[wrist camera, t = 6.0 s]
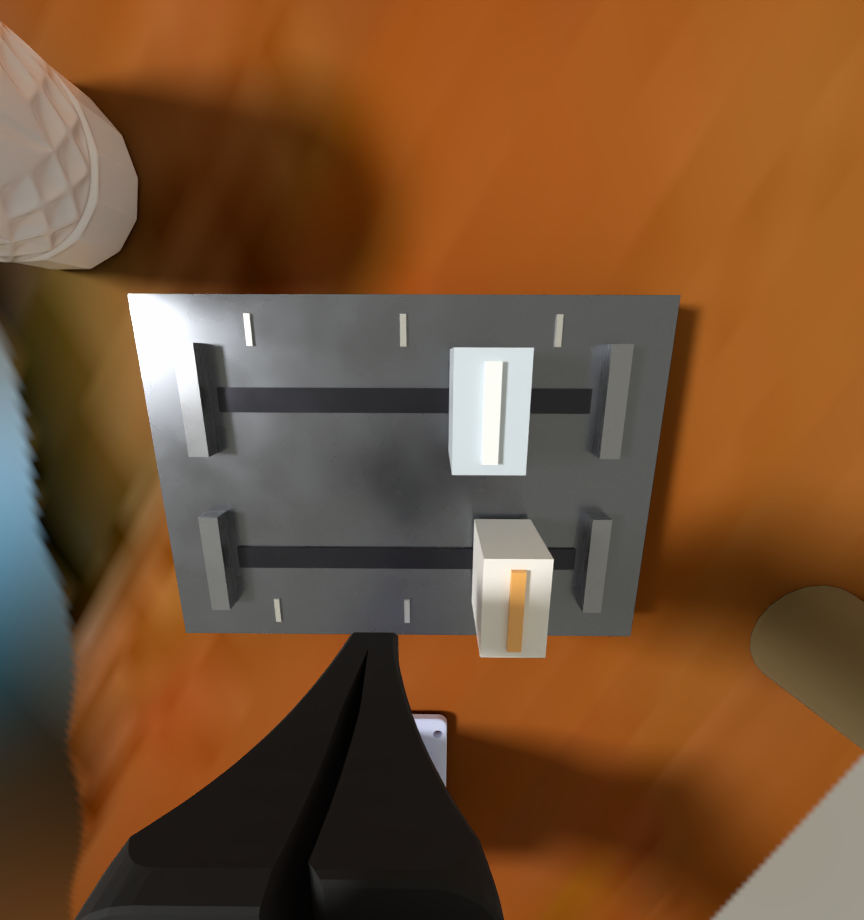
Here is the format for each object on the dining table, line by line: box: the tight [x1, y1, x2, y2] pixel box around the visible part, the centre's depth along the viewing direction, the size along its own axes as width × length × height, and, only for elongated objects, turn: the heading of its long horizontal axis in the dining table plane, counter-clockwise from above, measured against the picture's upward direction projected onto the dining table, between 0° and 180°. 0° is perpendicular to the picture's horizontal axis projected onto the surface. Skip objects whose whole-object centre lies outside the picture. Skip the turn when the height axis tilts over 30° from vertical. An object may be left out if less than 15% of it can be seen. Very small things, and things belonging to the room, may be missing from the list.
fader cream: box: [472, 519, 554, 658], centre depth 16 cm, size 4×2×4 cm, turn 0°
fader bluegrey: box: [448, 347, 534, 475], centre depth 14 cm, size 4×2×4 cm, turn 0°
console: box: [128, 294, 680, 636], centre depth 18 cm, size 15×21×3 cm
